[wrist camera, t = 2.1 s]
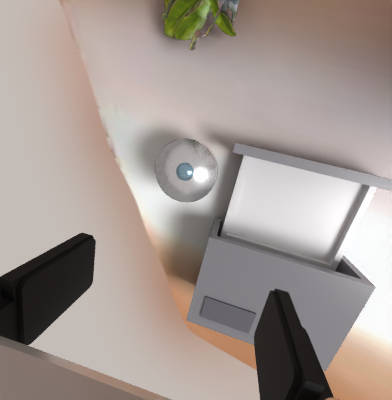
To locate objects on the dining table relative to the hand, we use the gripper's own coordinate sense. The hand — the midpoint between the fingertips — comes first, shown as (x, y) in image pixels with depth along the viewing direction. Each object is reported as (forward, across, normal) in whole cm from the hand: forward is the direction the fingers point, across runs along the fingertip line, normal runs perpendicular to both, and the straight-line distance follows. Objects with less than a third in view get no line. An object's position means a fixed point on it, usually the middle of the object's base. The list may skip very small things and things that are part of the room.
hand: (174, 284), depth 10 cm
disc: (+15, +3, -4) cm, 16 cm away
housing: (+18, -9, +9) cm, 22 cm away
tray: (+17, -10, -1) cm, 20 cm away
